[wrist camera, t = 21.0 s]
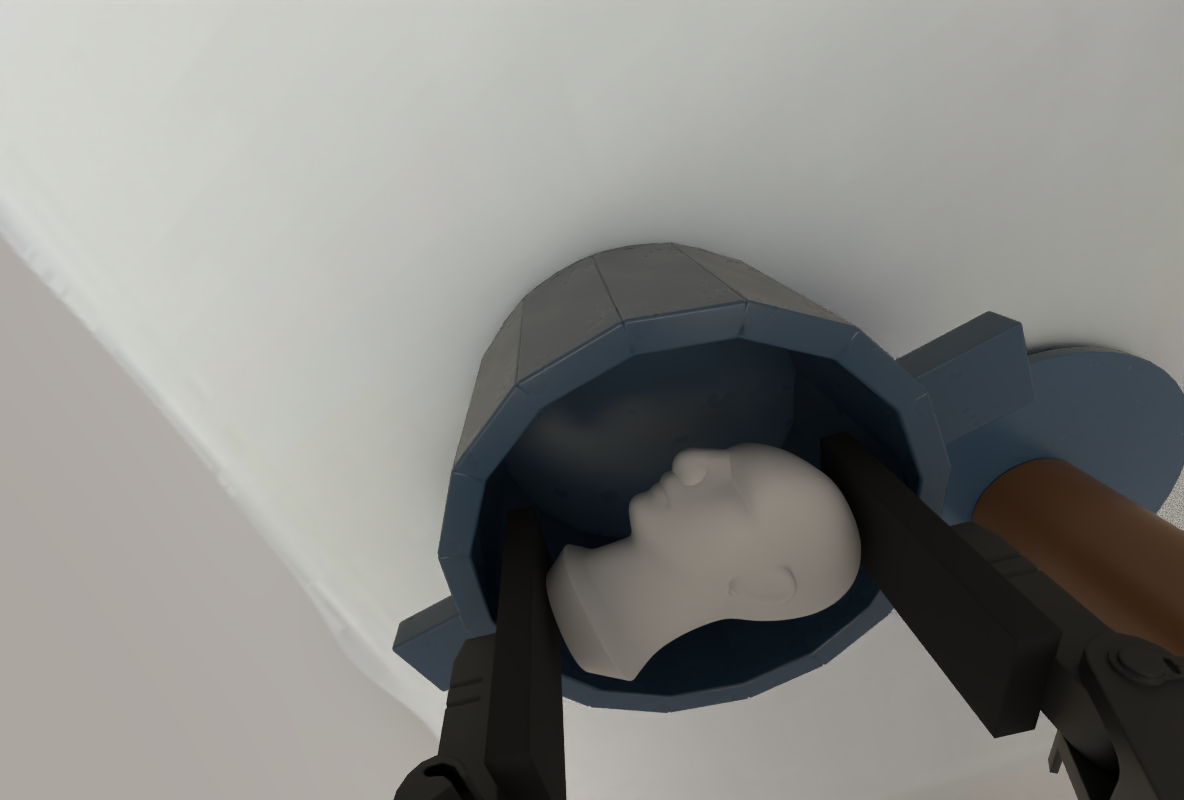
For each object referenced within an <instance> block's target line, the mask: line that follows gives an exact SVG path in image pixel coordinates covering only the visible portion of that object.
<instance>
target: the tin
mask: <svg viewBox="0 0 1184 800" xmlns="http://www.w3.org/2000/svg"><path fill="white" fill-rule="evenodd" d="M1035 400H1036V397H1035V392H1034V386H1033V381H1032V376H1031V370H1030V365H1029V360H1028V354H1027V349H1026V344H1025V338H1024V333H1023V328H1022V324H1021V323H1020V322H1018V321H1016V320H1013V319H1010V318H1007V317H1005V316H1002V315H999V314H996V313H994V312H991V311H988V312H986V313H984V314H982V315H980V316H978V317H976V318H974V319H972V320H970V321H969V322H967V323H965V324H963V325H961V326H959V327H957V328H955V329H953V330H952V331H950V332H948V333H946V334H944V335H942V336H940V337H938V338H936V339H935V340H933V341H931V342H929V343H927V344H925V345H923V346H921V347H919V348H917V349H916V350H914V351H912V352H910V353H908V354H906V355H904V356H902V357H900V358H899V359H897V360H894V359H893V358H892V357H891V356H890V355H889V354H888V353H887V352H885V351H884V350H883V349H882V348H881V347H880V346H879V345H878V344H876V343H875V342H874V341H873V340H872V339H871V338H870V337H869V336H867V335H866V334H865V333H864V332H863V331H862V330H861V329H860V328H858V327H856V326H855V325H853V324H851V323H849V322H848V321H846V320H844V319H842V318H840V317H839V316H837V315H835V314H833V313H832V312H830V311H828V310H826V309H825V308H823V307H821V306H819V305H818V304H816V303H814V302H812V301H811V300H809V299H807V298H805V297H804V296H802V295H800V294H798V293H796V292H795V291H793V290H791V289H789V288H788V287H786V286H784V285H782V284H781V283H779V282H777V281H775V280H774V279H772V278H770V277H768V276H767V275H765V274H763V273H761V272H760V271H758V270H756V269H754V268H752V267H751V266H749V265H747V264H745V263H744V262H742V261H740V260H736V259H732V258H728V257H724V256H721V255H718V254H715V253H712V252H709V251H706V250H703V249H699V248H693V247H688V246H682V245H678V244H674V243H664V244H644V245H633V246H626V247H622V248H617V249H613V250H609V251H604V252H601V253H599V254H595V255H593V256H589V257H588V258H585V259H583V260H580V261H578V262H576V263H574V264H572V265H570V266H569V267H567V268H565V269H563V270H561V271H559V272H557V273H556V274H554V275H553V276H552V277H550V278H549V279H547V280H546V281H545V282H543V283H542V284H541V285H539V286H538V287H536V288H535V289H534V290H533V291H532V292H531V293H530V294H528V295H526V297H525V298H524V299H523V300H522V301H521V302H520V303H519V305H518V306H517V307H516V308H515V310H514V311H513V312H512V313H511V315H510V316H509V317H508V318H507V319H506V321H505V322H504V323H503V325H502V327H501V328H500V330H499V332H498V333H497V335H496V337H495V338H494V340H493V342H492V344H491V345H490V347H489V348H488V350H487V351H486V353H485V354H484V356H483V358H482V361H481V365H480V369H479V372H478V376H477V380H476V383H475V387H474V391H473V394H472V398H471V402H470V405H469V409H468V413H467V416H466V420H465V424H464V427H463V431H462V435H461V438H460V442H459V445H458V449H457V453H456V456H455V460H454V464H453V467H452V471H451V477H450V482H449V488H448V494H447V500H446V506H445V512H444V518H443V524H442V530H441V536H440V542H439V548H438V555H439V556H438V559H439V561H440V564H441V567H442V570H443V572H444V575H445V578H446V581H447V583H448V586H449V589H450V592H451V594H452V595H451V596H449V597H447V598H445V599H443V600H441V601H439V602H438V603H436V604H434V605H432V606H430V607H428V608H426V609H424V610H422V611H421V612H419V613H417V614H415V615H413V616H411V617H409V618H407V619H405V620H403V621H402V622H401V623H400V624H399V627H398V631H397V634H396V637H395V641H394V644H393V651H394V652H395V653H396V654H398V655H399V656H400V657H401V658H403V659H404V660H405V661H406V662H407V663H409V664H410V665H411V666H412V667H413V668H415V669H416V670H417V671H418V672H420V673H421V674H422V675H423V676H424V677H426V678H427V679H428V680H429V681H431V682H432V683H433V684H434V685H435V686H437V687H438V688H439V689H440V690H442V691H447V690H449V689H450V679H451V673H452V668H453V662H454V660H455V658H456V656H457V654H458V653H459V651H460V649H461V647H462V645H463V643H464V642H465V640H467V639H471V638H476V637H480V636H484V635H488V634H493V633H496V627H497V616H498V605H499V594H500V583H501V572H502V561H503V550H504V540H505V529H506V518H507V512H508V511H512V510H516V509H520V508H524V507H529V506H534V509H535V511H536V514H537V517H538V520H539V523H540V526H541V529H542V532H543V535H544V538H545V541H546V544H547V546H548V549H549V552H550V555H551V558H552V561H553V564H554V562H555V561H556V559H557V558H558V556H559V555H560V553H561V551H562V550H563V548H564V547H565V546H566V545H568V544H571V545H576V546H580V547H584V548H588V549H595V548H599V547H602V546H605V545H608V544H611V543H614V542H616V541H619V540H622V539H624V538H626V537H629V536H630V535H631V533H632V530H631V524H630V517H629V504H630V501H631V499H632V498H633V497H634V496H635V495H637V494H639V493H642V492H645V491H648V490H649V489H650V488H651V487H652V486H653V485H654V484H656V483H658V482H659V481H660V479H661V477H662V475H663V474H664V473H665V472H667V471H669V470H672V464H673V460H674V458H675V456H676V455H677V453H679V452H680V451H681V450H684V449H686V448H715V449H726V448H728V447H730V446H732V445H735V444H739V443H759V444H765V445H770V446H774V447H777V448H780V449H783V450H785V451H788V452H790V453H792V454H794V455H796V456H798V457H800V458H801V459H803V460H805V461H807V462H808V463H810V464H811V465H813V466H814V467H815V468H817V469H819V470H820V471H821V461H820V437H825V436H829V435H833V434H837V433H842V432H846V431H847V432H848V433H849V434H850V435H852V436H853V437H854V438H855V439H856V440H857V441H858V442H859V443H860V444H861V445H862V446H863V447H864V448H866V449H867V450H868V451H869V452H870V453H871V454H872V455H873V456H874V457H875V458H876V459H877V460H879V461H880V462H881V463H882V464H883V465H884V466H885V467H886V468H887V469H888V470H889V471H890V472H892V473H893V474H894V475H895V476H896V477H897V478H898V479H899V480H900V481H901V482H902V483H903V484H905V485H906V486H907V487H908V488H909V489H910V490H911V491H912V492H913V493H914V494H915V495H916V496H918V497H919V498H920V499H921V500H922V501H923V502H924V503H925V504H926V505H927V506H928V507H929V508H931V509H932V510H933V511H934V512H935V513H936V514H937V515H938V516H939V517H940V518H941V516H942V512H943V507H944V502H945V498H946V493H947V488H948V484H949V479H950V474H951V470H950V468H951V465H950V462H949V458H948V455H947V452H946V448H945V445H946V444H948V443H950V442H952V441H954V440H956V439H958V438H960V437H962V436H964V435H966V434H968V433H970V432H972V431H974V430H976V429H978V428H981V427H983V426H985V425H987V424H989V423H991V422H993V421H995V420H997V419H999V418H1001V417H1003V416H1005V415H1007V414H1009V413H1011V412H1013V411H1015V410H1017V409H1019V408H1021V407H1023V406H1025V405H1027V404H1029V403H1031V402H1033V401H1035ZM893 608H894V607H893V606H892V604H891V603H890V602H889V601H888V599H887V598H886V597H885V595H884V594H883V593H882V591H881V590H880V589H879V588H878V586H877V585H876V584H875V582H874V581H873V580H872V578H871V577H870V576H869V575H868V573H867V572H866V571H865V569H864V568H863V567H862V565H861V564H860V566H859V570H858V573H857V576H856V578H855V580H854V582H853V584H852V586H851V587H850V588H849V590H848V591H847V592H846V593H845V594H844V595H843V596H842V597H841V598H840V599H839V600H838V601H837V602H835V603H834V604H832V605H831V606H829V607H827V608H826V609H824V610H822V611H819V612H817V613H814V614H811V615H808V616H804V617H799V618H794V619H787V620H777V621H753V620H743V619H722V620H718V621H715V622H711V623H709V624H706V625H703V626H701V627H698V628H696V629H694V630H691V631H689V632H687V633H685V634H683V635H681V636H679V637H678V638H676V639H674V640H672V641H671V642H669V643H668V644H666V645H665V646H663V647H662V648H661V649H660V650H658V651H657V652H656V653H655V654H654V655H653V656H652V657H651V658H650V659H649V660H648V662H647V663H646V664H645V665H644V667H643V668H642V669H641V671H640V672H639V673H638V675H637V676H636V677H635V679H633V680H632V681H628V680H623V679H618V678H613V677H608V676H603V675H599V674H594V673H590V672H586V671H585V670H583V669H582V668H581V667H580V666H579V665H578V663H577V662H576V661H575V659H574V658H573V656H572V654H571V653H570V651H569V649H568V647H567V645H566V643H565V641H564V639H563V637H562V634H561V632H560V653H561V678H562V696H563V697H566V698H568V699H571V700H573V701H576V702H578V703H581V704H584V705H586V706H590V707H596V708H609V709H622V710H635V711H648V712H661V713H668V712H676V711H681V710H687V709H693V708H698V707H704V706H709V705H715V704H721V703H726V702H732V701H737V700H743V699H747V698H748V697H753V696H755V695H758V694H760V693H762V692H765V691H767V690H769V689H771V688H774V687H776V686H778V685H780V684H783V683H785V682H787V681H789V680H792V679H794V678H796V677H799V676H801V675H803V674H805V673H808V672H810V671H812V670H814V669H817V668H819V667H821V666H823V664H827V663H828V662H830V661H831V660H832V659H833V658H835V657H836V656H837V655H838V654H840V653H841V652H842V651H843V650H845V649H846V648H847V647H848V646H850V645H851V644H852V643H854V642H855V641H856V640H857V639H859V638H860V637H861V636H862V635H864V634H865V633H866V632H867V631H869V630H870V629H871V628H872V627H874V626H875V625H876V624H878V623H879V622H880V621H881V620H883V619H884V618H885V617H886V616H888V613H891V611H892V610H893Z"/></svg>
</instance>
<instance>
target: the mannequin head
mask: <svg viewBox="0 0 1184 800" xmlns="http://www.w3.org/2000/svg"><path fill="white" fill-rule="evenodd" d="M629 517H630V524H631V530H632V533H631V535H630V536H629V537H626V538H624V539H622V540H619V541H616V542H614V543H611V544H608V545H605V546H602V547H599V548H595V549H588V548H584V547H580V546H576V545H571V544H568V545H566V546H565V547H564V548H563V550H562V551H561V553H560V555H559V556H558V558H557V559H556V561H555V562H554V564H553V565H552V567H551V568H550V570H549V571H548V573H547V576H546V588H547V594H548V598H549V602H550V605H551V608H552V611H553V614H554V617H555V620H556V622H557V625H558V627H559V630H560V632H561V634H562V637H563V639H564V641H565V643H566V645H567V647H568V649H569V651H570V653H571V654H572V656H573V658H574V659H575V661H576V662H577V663H578V665H579V666H580V667H581V668H582V669H583V670H585V671H586V672H590V673H594V674H599V675H603V676H608V677H613V678H618V679H623V680H628V681H632V680H633V679H635V677H636V676H637V675H638V673H639V672H640V671H641V669H642V668H643V667H644V665H645V664H646V663H647V662H648V660H649V659H650V658H651V657H652V656H653V655H654V654H655V653H656V652H657V651H658V650H660V649H661V648H662V647H663V646H665V645H666V644H668V643H669V642H671V641H672V640H674V639H676V638H678V637H679V636H681V635H683V634H685V633H687V632H689V631H691V630H694V629H696V628H698V627H701V626H703V625H706V624H709V623H711V622H715V621H718V620H722V619H743V620H753V621H777V620H787V619H794V618H799V617H804V616H808V615H811V614H814V613H817V612H819V611H822V610H824V609H826V608H827V607H829V606H831V605H832V604H834V603H835V602H837V601H838V600H839V599H840V598H841V597H842V596H843V595H844V594H845V593H846V592H847V591H848V590H849V588H850V587H851V586H852V584H853V582H854V580H855V578H856V576H857V573H858V570H859V566H860V560H861V540H860V535H859V530H858V527H857V524H856V521H855V519H854V516H853V513H852V511H851V509H850V507H849V505H848V503H847V501H846V499H845V497H844V495H843V494H842V492H841V491H840V489H839V488H838V487H837V486H836V484H835V483H834V482H833V481H832V480H831V479H830V478H829V477H828V476H827V475H825V474H824V473H823V472H821V471H820V470H819V469H817V468H815V467H814V466H813V465H811V464H810V463H808V462H807V461H805V460H803V459H801V458H800V457H798V456H796V455H794V454H792V453H790V452H788V451H785V450H783V449H780V448H777V447H774V446H770V445H765V444H759V443H739V444H735V445H732V446H730V447H728V448H726V449H715V448H686V449H684V450H681V451H680V452H679V453H677V455H676V456H675V458H674V460H673V464H672V470H669V471H667V472H665V473H664V474H663V475H662V477H661V479H660V481H659V482H658V483H656V484H654V485H653V486H652V487H651V488H650V489H649V490H648V491H645V492H642V493H639V494H637V495H635V496H634V497H633V498H632V499H631V501H630V504H629Z"/></svg>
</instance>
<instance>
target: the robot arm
mask: <svg viewBox="0 0 1184 800" xmlns="http://www.w3.org/2000/svg"><path fill="white" fill-rule="evenodd" d="M820 461H821V472H823V473H824V474H825V475H827V476H828V477H829V478H830V479H831V480H832V481H833V482H834V483H835V484H836V486H837V487H838V488H839V489H840V491H841V492H842V494H843V495H844V497H845V499H846V501H847V503H848V505H849V507H850V509H851V511H852V513H853V516H854V519H855V521H856V524H857V527H858V530H859V535H860V540H861V560H860V564H861V565H862V567H863V568H864V569H865V571H866V572H867V573H868V575H869V576H870V577H871V578H872V580H873V581H874V582H875V584H876V585H877V586H878V588H879V589H880V590H881V591H882V593H883V594H884V595H885V597H886V598H887V599H888V601H889V602H890V603H891V604H892V606H893V607H894V608H895V610H896V611H897V612H898V614H899V615H900V616H901V617H902V619H903V620H904V621H905V623H906V624H907V625H908V627H909V628H910V629H911V630H912V632H913V633H914V634H915V636H916V637H917V638H918V640H919V641H920V642H921V643H922V645H923V646H924V647H925V649H926V650H927V651H928V653H929V654H930V655H931V656H932V658H933V659H934V660H935V662H936V663H937V664H938V666H939V667H940V668H941V669H942V671H943V672H944V673H945V675H946V676H947V677H948V679H949V680H950V681H951V682H952V684H953V685H954V686H955V688H956V689H957V690H958V692H959V693H960V694H961V695H962V697H963V698H964V699H965V701H966V702H967V703H968V705H969V706H970V707H971V708H972V710H973V711H974V712H975V714H976V715H977V716H978V718H979V719H980V720H981V721H982V723H983V724H984V725H985V727H986V728H987V729H988V731H989V732H990V733H991V734H992V736H993V737H994V738H998V737H1003V736H1007V735H1011V734H1016V733H1020V732H1025V731H1029V730H1034V729H1035V726H1036V723H1037V720H1038V716H1039V713H1040V710H1041V711H1042V712H1043V713H1044V714H1045V716H1046V717H1047V718H1048V719H1049V720H1050V721H1051V722H1052V723H1053V725H1054V726H1055V727H1056V728H1057V729H1058V730H1057V733H1056V736H1055V740H1054V743H1053V746H1052V749H1051V752H1050V755H1049V758H1048V762H1049V769H1050V772H1052V773H1057V774H1058V771H1059V768H1060V766H1061V763H1062V760H1063V763H1064V765H1065V768H1066V770H1067V773H1068V775H1069V778H1070V780H1071V783H1072V785H1073V788H1074V790H1075V793H1076V795H1077V798H1078V800H1184V657H1180V656H1175V655H1173V654H1172V653H1170V652H1169V651H1167V650H1166V649H1164V648H1163V647H1161V646H1159V645H1157V644H1154V643H1152V642H1150V641H1147V640H1145V639H1143V638H1140V637H1137V636H1132V635H1128V634H1123V633H1117V632H1115V631H1114V630H1112V629H1111V628H1110V627H1108V626H1107V625H1106V624H1104V623H1103V622H1102V621H1101V620H1100V619H1099V618H1097V617H1096V616H1095V615H1094V614H1093V613H1091V612H1090V611H1089V610H1088V609H1087V608H1085V607H1084V606H1083V605H1082V604H1081V603H1080V602H1078V601H1077V600H1076V599H1075V598H1074V597H1072V596H1071V595H1070V594H1069V593H1068V592H1067V591H1065V590H1064V589H1063V588H1062V587H1061V586H1059V585H1058V584H1057V583H1056V582H1055V581H1053V580H1052V579H1051V578H1050V577H1049V576H1048V575H1046V574H1045V573H1044V572H1043V571H1042V570H1040V571H1039V570H1038V569H1037V566H1036V565H1034V564H1033V563H1032V562H1031V561H1030V560H1029V559H1027V558H1026V557H1025V556H1024V555H1023V556H1021V555H1020V553H1019V551H1018V550H1017V549H1015V548H1014V547H1013V546H1012V545H1011V544H1010V543H1008V542H1007V541H1006V540H1005V539H1004V538H1002V537H1001V536H1000V535H999V534H997V533H995V532H993V531H991V530H989V529H987V528H985V527H983V526H981V525H979V524H977V523H975V522H973V521H969V522H964V523H960V524H956V525H951V526H949V525H948V524H947V523H946V522H945V521H943V520H942V519H941V518H940V517H939V516H938V515H937V514H936V513H935V512H934V511H933V510H932V509H931V508H929V507H928V506H927V505H926V504H925V503H924V502H923V501H922V500H921V499H920V498H919V497H918V496H916V495H915V494H914V493H913V492H912V491H911V490H910V489H909V488H908V487H907V486H906V485H905V484H903V483H902V482H901V481H900V480H899V479H898V478H897V477H896V476H895V475H894V474H893V473H892V472H890V471H889V470H888V469H887V468H886V467H885V466H884V465H883V464H882V463H881V462H880V461H879V460H877V459H876V458H875V457H874V456H873V455H872V454H871V453H870V452H869V451H868V450H867V449H866V448H864V447H863V446H862V445H861V444H860V443H859V442H858V441H857V440H856V439H855V438H854V437H853V436H852V435H850V434H849V433H848V432H847V431H846V432H842V433H837V434H833V435H829V436H825V437H820ZM552 565H553V561H552V558H551V555H550V552H549V549H548V546H547V544H546V541H545V538H544V535H543V532H542V529H541V526H540V523H539V520H538V517H537V514H536V511H535V509H534V506H529V507H524V508H520V509H516V510H512V511H508V512H507V518H506V529H505V540H504V550H503V561H502V572H501V583H500V594H499V605H498V616H497V627H496V633H493V634H488V635H484V636H480V637H476V638H471V639H467V640H465V642H464V643H463V645H462V647H461V649H460V651H459V653H458V654H457V656H456V658H455V660H454V662H453V668H452V673H451V679H450V689H449V691H448V697H447V703H446V704H447V709H445V715H444V721H443V727H442V732H441V738H440V744H439V751H438V755H437V756H434V757H432V758H430V759H428V760H426V761H423V762H421V763H420V764H419V765H418V766H417V767H416V768H415V769H414V770H412V771H411V772H410V773H409V774H408V775H407V776H406V778H405V779H404V781H403V782H402V784H401V785H400V787H399V788H398V789H397V791H396V794H395V797H394V800H566V779H565V753H564V728H563V703H562V678H561V653H560V630H559V627H558V625H557V622H556V620H555V617H554V614H553V611H552V608H551V605H550V602H549V598H548V594H547V588H546V576H547V573H548V571H549V570H550V568H551V567H552Z"/></svg>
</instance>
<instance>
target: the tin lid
mask: <svg viewBox="0 0 1184 800" xmlns="http://www.w3.org/2000/svg"><path fill="white" fill-rule="evenodd" d="M1028 360H1029V365H1030V370H1031V376H1032V381H1033V386H1034V392H1035V397H1036V400H1035V401H1033V402H1031V403H1029V404H1027V405H1025V406H1023V407H1021V408H1019V409H1017V410H1015V411H1013V412H1011V413H1009V414H1007V415H1005V416H1003V417H1001V418H999V419H997V420H995V421H993V422H991V423H989V424H987V425H985V426H983V427H981V428H978V429H976V430H974V431H972V432H970V433H968V434H966V435H964V436H962V437H960V438H958V439H956V440H954V441H952V442H950V443H948V444H946V445H945V448H946V452H947V455H948V458H949V462H950V465H951V468H950V470H951V474H950V479H949V484H948V488H947V493H946V498H945V502H944V507H943V512H942V516H941V519H942V520H943V521H945V522H946V523H947V524H948V525H949V526H951V525H956V524H960V523H964V522H969V521H973V522H975V523H977V524H979V525H981V526H983V527H985V528H987V529H989V530H991V531H993V532H995V533H997V534H999V535H1000V536H1001V537H1002V538H1004V539H1005V540H1006V541H1007V542H1008V543H1010V544H1011V545H1012V546H1013V547H1014V548H1015V549H1017V550H1018V551H1019V553H1020V555H1021V556H1023V555H1024V556H1025V557H1026V558H1027V559H1029V560H1030V561H1031V562H1032V563H1033V564H1034V565H1036V566H1037V569H1038V570H1039V571H1040V570H1042V571H1043V572H1044V573H1045V574H1046V575H1048V576H1049V577H1050V578H1051V579H1052V580H1053V581H1055V582H1056V583H1057V584H1058V585H1059V586H1061V587H1062V588H1063V589H1064V590H1065V591H1067V592H1068V593H1069V594H1070V595H1071V596H1072V597H1074V598H1075V599H1076V600H1077V601H1078V602H1080V603H1081V604H1082V605H1083V606H1084V607H1085V608H1087V609H1088V610H1089V611H1090V612H1091V613H1093V614H1094V615H1095V616H1096V617H1097V618H1099V619H1100V620H1101V621H1102V622H1103V623H1104V624H1106V625H1107V626H1108V627H1110V628H1111V629H1112V630H1114V631H1115V632H1117V633H1123V634H1128V635H1132V636H1137V637H1140V638H1143V639H1145V640H1147V641H1150V642H1152V643H1154V644H1157V645H1159V646H1161V647H1163V648H1164V649H1166V650H1167V651H1169V652H1170V653H1172V654H1173V655H1175V656H1180V657H1184V531H1182V530H1181V529H1179V528H1177V527H1176V526H1174V525H1172V524H1171V523H1169V522H1167V521H1166V520H1164V519H1162V518H1160V517H1159V516H1157V515H1155V514H1156V513H1157V512H1158V511H1159V509H1160V508H1161V506H1162V505H1163V503H1164V502H1165V500H1166V499H1167V497H1168V496H1169V494H1170V493H1171V491H1172V489H1173V487H1174V485H1175V483H1176V482H1177V480H1178V478H1179V476H1180V473H1181V471H1182V468H1183V465H1184V394H1183V392H1182V390H1181V389H1180V387H1179V386H1178V384H1177V383H1176V381H1175V380H1174V379H1173V378H1172V377H1171V376H1170V375H1169V374H1167V373H1166V372H1165V371H1164V370H1163V369H1161V368H1160V367H1158V366H1156V365H1155V364H1153V363H1152V362H1150V361H1147V360H1145V359H1142V358H1139V357H1136V356H1134V355H1131V354H1128V353H1125V352H1122V351H1119V350H1114V349H1108V348H1103V347H1069V348H1060V349H1053V350H1048V351H1044V352H1040V353H1035V354H1031V355H1028Z"/></svg>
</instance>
